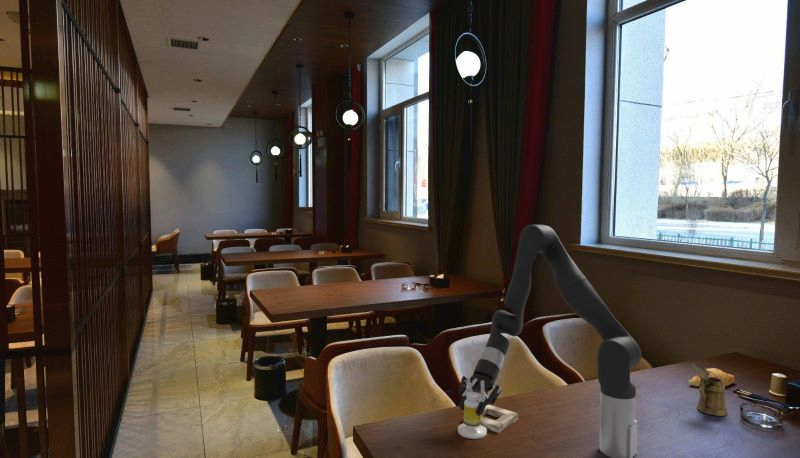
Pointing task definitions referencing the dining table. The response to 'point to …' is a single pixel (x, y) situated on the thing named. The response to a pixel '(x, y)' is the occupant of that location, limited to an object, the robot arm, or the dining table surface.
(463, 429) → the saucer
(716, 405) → the wooden mug
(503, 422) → the square wooden frame
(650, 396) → the dining table surface
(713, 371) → the croissant
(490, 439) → the dining table surface
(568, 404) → the dining table surface
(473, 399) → the supplement bottle
